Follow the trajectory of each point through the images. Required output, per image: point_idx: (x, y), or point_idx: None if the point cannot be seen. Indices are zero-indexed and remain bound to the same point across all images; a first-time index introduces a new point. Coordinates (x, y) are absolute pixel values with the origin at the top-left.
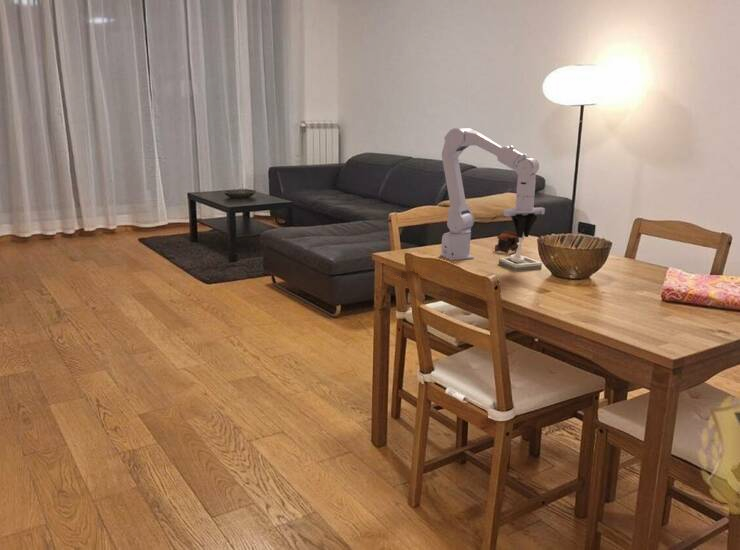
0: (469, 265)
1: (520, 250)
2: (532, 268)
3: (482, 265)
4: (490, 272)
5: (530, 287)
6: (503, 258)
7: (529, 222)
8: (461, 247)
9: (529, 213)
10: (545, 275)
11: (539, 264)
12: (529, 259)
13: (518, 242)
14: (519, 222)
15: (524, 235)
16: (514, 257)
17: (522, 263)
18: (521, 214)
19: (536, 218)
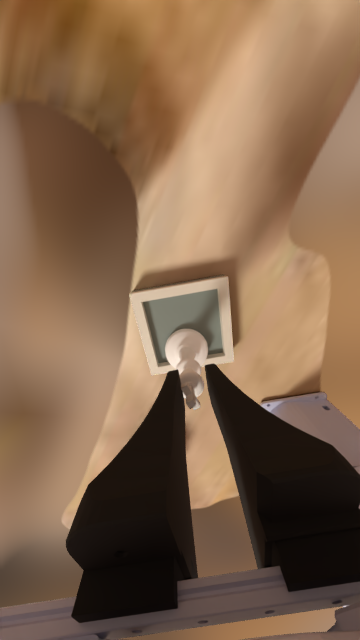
0: (308, 347)
1: (184, 355)
2: (164, 285)
3: (277, 343)
4: (299, 272)
5: (288, 21)
6: (224, 356)
7: (173, 443)
8: (316, 423)
9: (152, 614)
10: (151, 206)
11: (138, 291)
12: (151, 340)
13: None
14: (294, 428)
15: (183, 384)
16: (199, 345)
17: (182, 318)
18: (304, 578)
19: (89, 488)
